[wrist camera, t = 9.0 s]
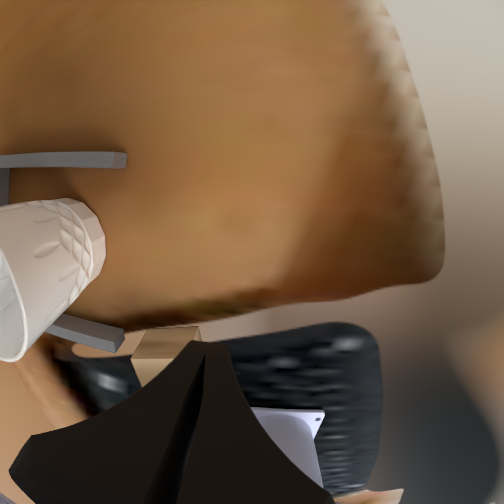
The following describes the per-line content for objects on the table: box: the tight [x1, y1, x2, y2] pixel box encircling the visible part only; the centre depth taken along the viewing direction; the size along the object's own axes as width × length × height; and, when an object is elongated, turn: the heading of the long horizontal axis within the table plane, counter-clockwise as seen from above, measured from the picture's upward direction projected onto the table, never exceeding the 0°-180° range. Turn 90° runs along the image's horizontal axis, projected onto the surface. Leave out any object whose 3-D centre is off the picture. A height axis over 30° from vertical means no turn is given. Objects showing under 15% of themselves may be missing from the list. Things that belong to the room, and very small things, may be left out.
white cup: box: [0, 198, 106, 362], centre depth 14 cm, size 8×8×10 cm
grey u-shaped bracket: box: [0, 152, 127, 353], centre depth 17 cm, size 14×13×2 cm
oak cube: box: [131, 326, 202, 387], centre depth 19 cm, size 4×4×4 cm
